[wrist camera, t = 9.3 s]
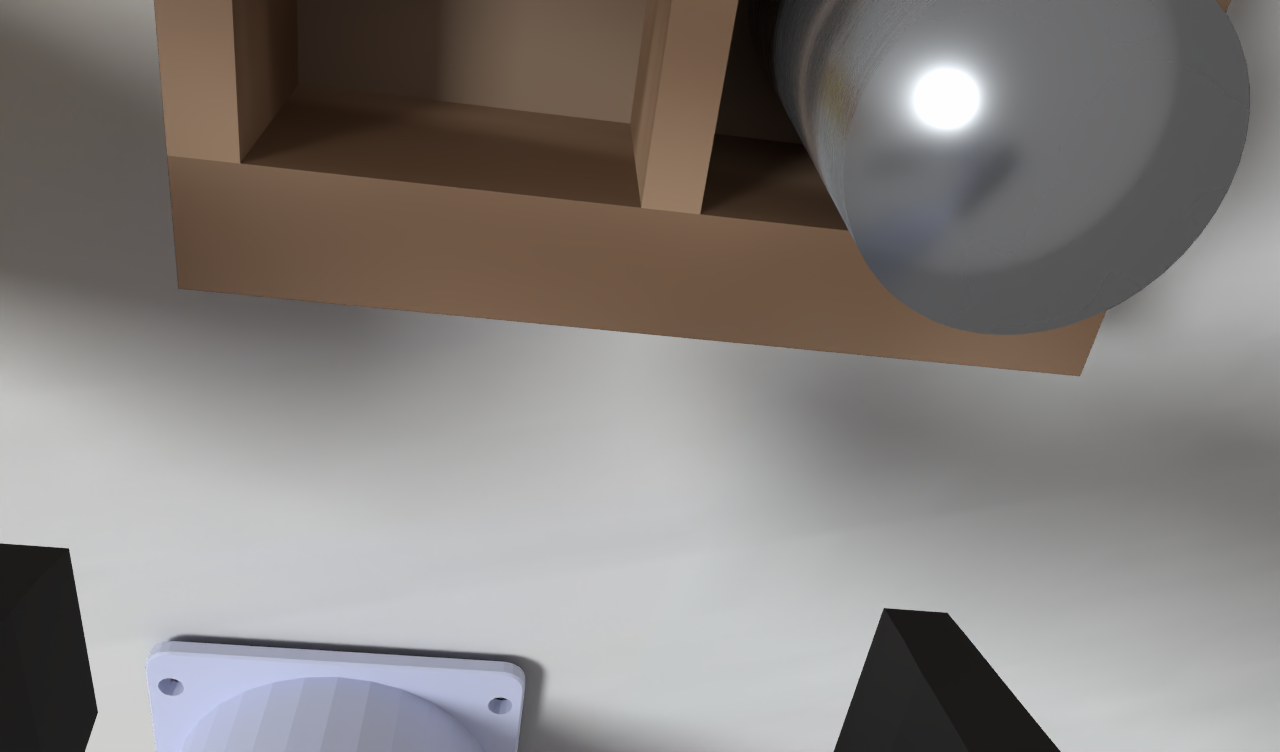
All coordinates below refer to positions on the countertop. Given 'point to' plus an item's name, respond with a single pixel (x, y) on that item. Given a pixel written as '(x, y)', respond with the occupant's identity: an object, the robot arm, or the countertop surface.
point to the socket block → (526, 174)
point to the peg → (1013, 143)
